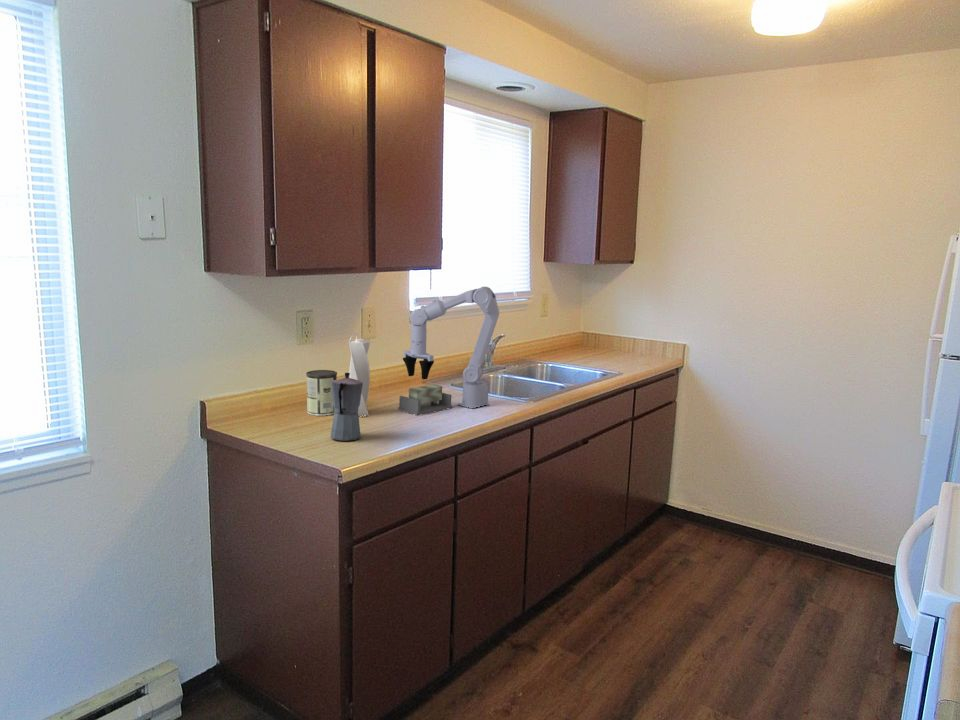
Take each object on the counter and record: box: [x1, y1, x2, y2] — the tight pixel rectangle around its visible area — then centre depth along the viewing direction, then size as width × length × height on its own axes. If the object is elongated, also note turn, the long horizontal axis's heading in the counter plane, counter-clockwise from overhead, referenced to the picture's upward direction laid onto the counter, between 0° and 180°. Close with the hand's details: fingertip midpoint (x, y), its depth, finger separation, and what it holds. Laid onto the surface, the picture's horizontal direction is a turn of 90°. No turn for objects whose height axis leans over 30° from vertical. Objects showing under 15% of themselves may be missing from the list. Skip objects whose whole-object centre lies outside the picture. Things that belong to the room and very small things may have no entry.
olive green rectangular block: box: [408, 383, 443, 404], centre depth 239 cm, size 12×4×5 cm, turn 137°
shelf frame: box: [397, 392, 453, 416], centre depth 240 cm, size 17×10×5 cm, turn 137°
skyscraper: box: [348, 333, 371, 418], centre depth 227 cm, size 8×8×28 cm
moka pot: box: [329, 372, 363, 442], centre depth 199 cm, size 10×15×20 cm, turn 2°
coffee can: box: [305, 369, 338, 417], centre depth 229 cm, size 10×10×14 cm
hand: (417, 377), depth 249 cm, fingers open, 7 cm apart
